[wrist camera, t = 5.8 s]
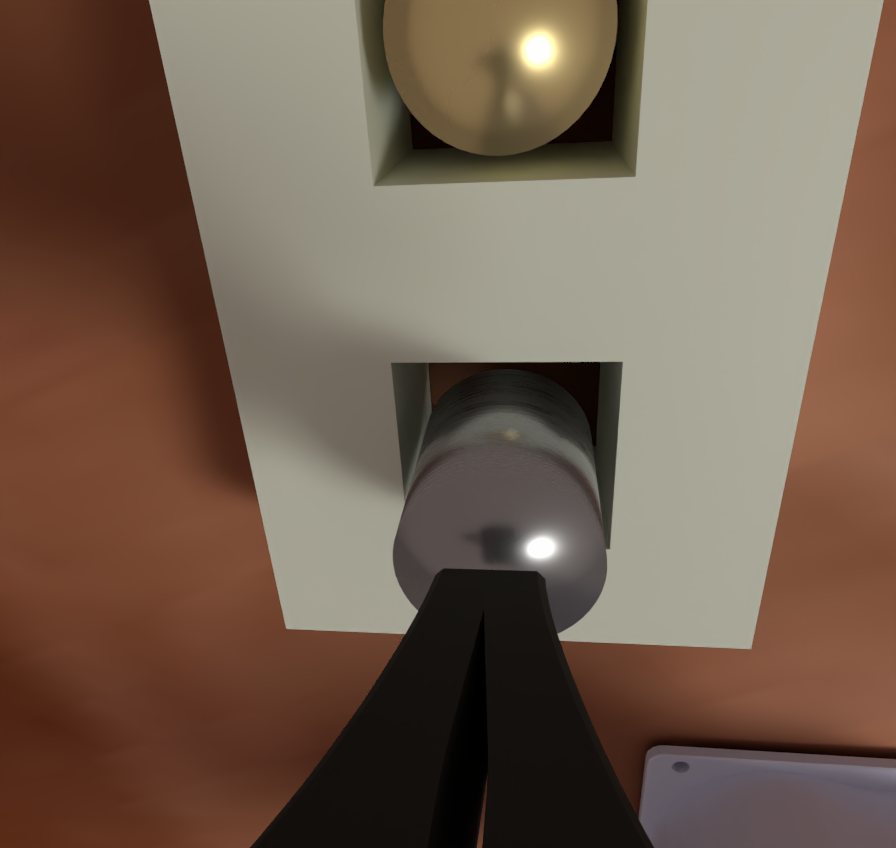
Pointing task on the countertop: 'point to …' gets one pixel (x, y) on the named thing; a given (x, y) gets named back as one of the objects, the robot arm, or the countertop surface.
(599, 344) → the socket block
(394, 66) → the brass peg
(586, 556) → the steel peg
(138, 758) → the countertop surface
